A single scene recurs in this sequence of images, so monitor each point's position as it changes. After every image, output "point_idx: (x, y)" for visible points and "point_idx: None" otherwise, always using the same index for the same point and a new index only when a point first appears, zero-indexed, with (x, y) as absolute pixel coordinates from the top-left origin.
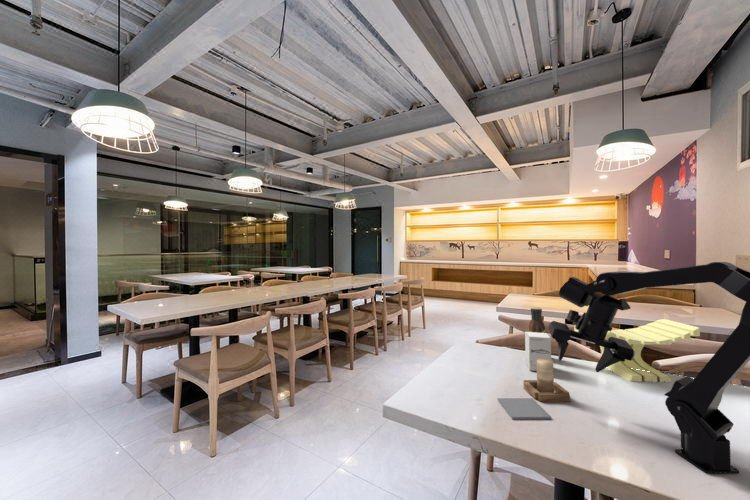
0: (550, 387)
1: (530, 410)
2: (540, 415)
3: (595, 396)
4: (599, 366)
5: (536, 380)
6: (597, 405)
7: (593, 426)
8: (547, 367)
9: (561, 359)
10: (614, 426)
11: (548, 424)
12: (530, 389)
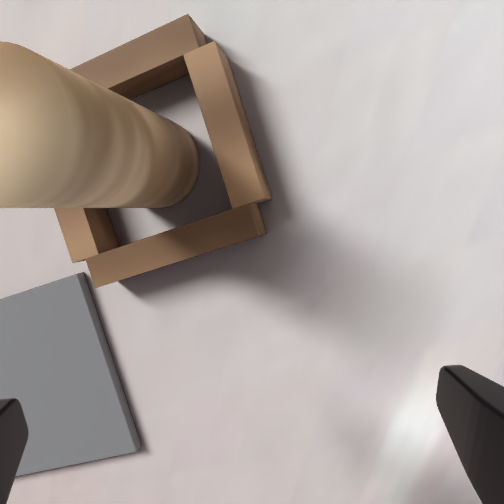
0: (151, 202)
1: (58, 410)
2: (94, 447)
3: (450, 96)
4: (485, 484)
5: (100, 59)
6: (412, 234)
7: (307, 474)
8: (43, 207)
9: (14, 472)
10: (409, 457)
11: (123, 489)
12: (59, 214)
